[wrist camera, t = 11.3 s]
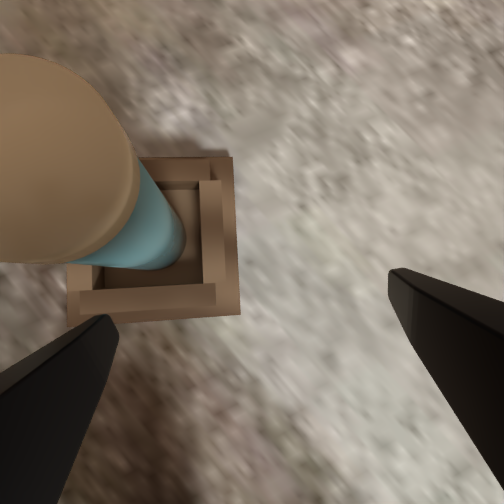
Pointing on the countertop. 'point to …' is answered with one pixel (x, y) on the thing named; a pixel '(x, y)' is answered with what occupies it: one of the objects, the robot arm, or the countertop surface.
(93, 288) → the open box
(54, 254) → the tall jar
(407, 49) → the countertop surface
